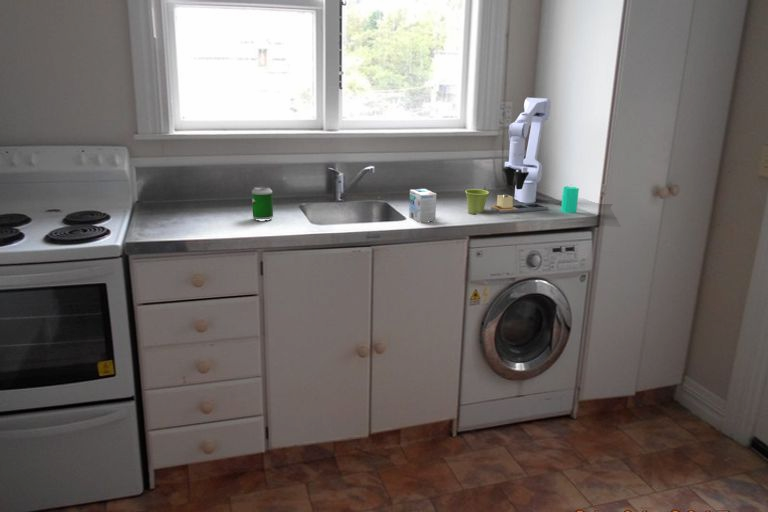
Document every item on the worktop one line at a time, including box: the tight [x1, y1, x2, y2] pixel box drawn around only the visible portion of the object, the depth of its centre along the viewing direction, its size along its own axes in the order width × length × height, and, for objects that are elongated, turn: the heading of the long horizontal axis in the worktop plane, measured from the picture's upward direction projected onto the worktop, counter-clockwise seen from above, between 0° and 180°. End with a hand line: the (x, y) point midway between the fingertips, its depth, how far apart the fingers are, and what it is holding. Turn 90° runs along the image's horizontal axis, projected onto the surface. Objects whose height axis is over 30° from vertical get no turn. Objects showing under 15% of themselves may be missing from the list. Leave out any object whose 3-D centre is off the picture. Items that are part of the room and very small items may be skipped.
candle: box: [560, 183, 580, 214], centre depth 264 cm, size 6×6×12 cm
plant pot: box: [464, 188, 490, 215], centre depth 263 cm, size 9×9×9 cm
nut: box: [496, 194, 514, 209], centre depth 264 cm, size 4×4×6 cm
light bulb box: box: [408, 188, 437, 223], centre depth 251 cm, size 11×7×11 cm, turn 22°
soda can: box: [251, 186, 274, 220], centre depth 246 cm, size 8×8×12 cm
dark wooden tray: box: [490, 203, 549, 214], centre depth 267 cm, size 7×22×2 cm, turn 109°
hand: (514, 187), depth 264 cm, fingers open, 7 cm apart
